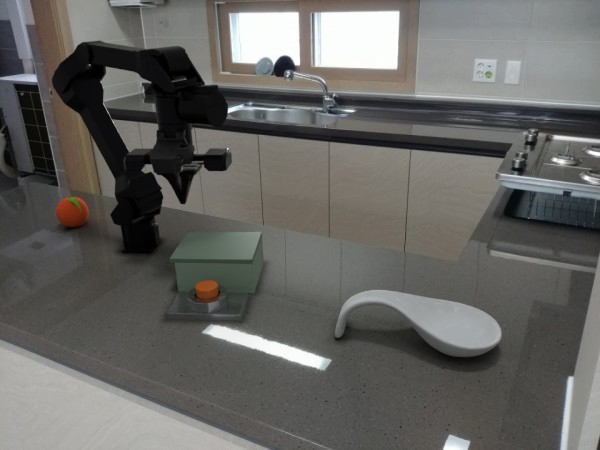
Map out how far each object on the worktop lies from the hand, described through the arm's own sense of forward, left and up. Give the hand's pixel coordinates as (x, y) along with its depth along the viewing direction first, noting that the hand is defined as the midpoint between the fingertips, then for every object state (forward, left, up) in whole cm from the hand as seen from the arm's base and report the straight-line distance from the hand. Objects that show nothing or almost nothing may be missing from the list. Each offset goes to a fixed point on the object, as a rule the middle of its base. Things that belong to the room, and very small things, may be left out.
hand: (183, 203), depth 101 cm
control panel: (+8, -17, -12) cm, 23 cm away
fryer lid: (+8, -6, -6) cm, 12 cm away
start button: (+8, -18, -9) cm, 21 cm away
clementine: (-31, +16, -12) cm, 37 cm away
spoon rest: (+41, -25, -12) cm, 49 cm away
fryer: (+8, -6, -12) cm, 16 cm away
